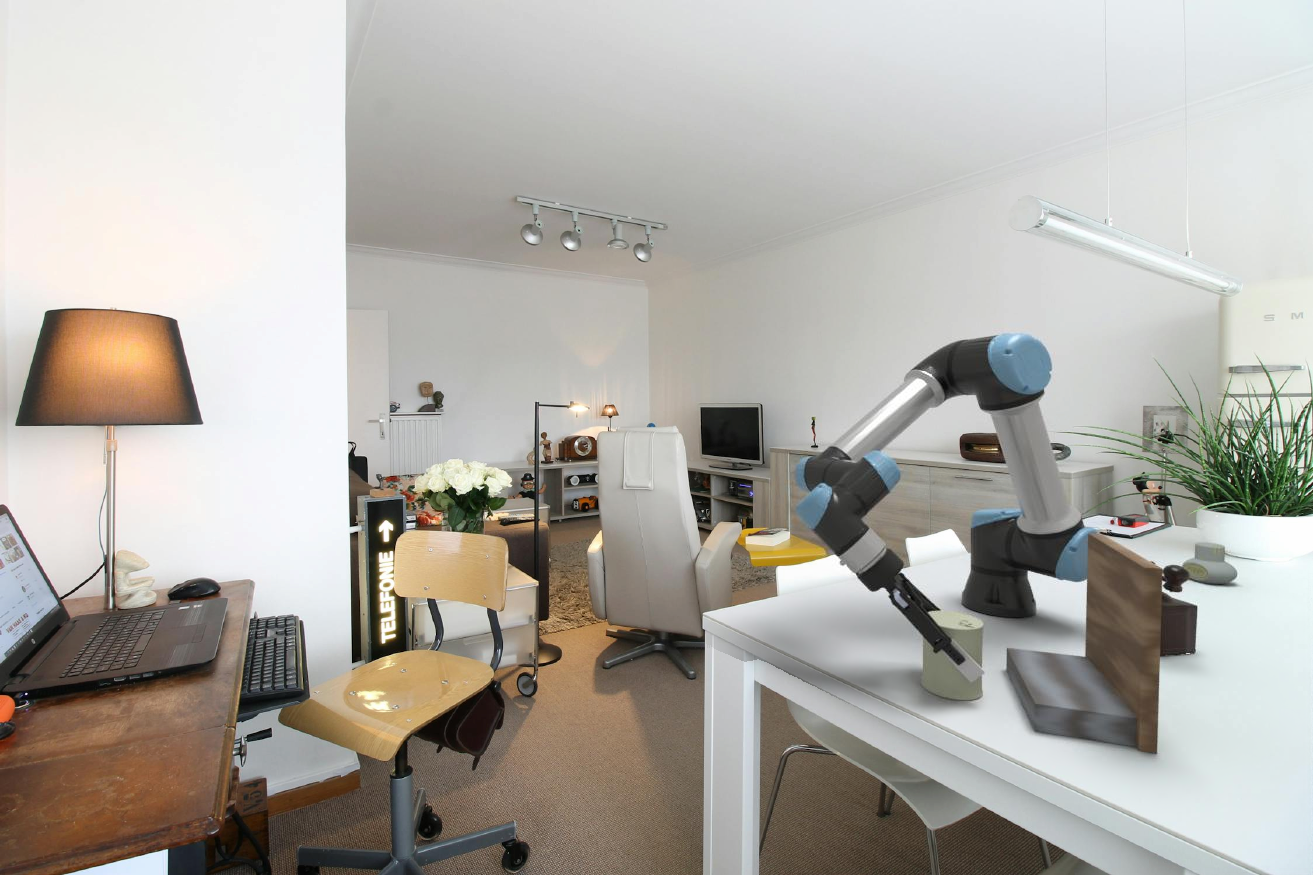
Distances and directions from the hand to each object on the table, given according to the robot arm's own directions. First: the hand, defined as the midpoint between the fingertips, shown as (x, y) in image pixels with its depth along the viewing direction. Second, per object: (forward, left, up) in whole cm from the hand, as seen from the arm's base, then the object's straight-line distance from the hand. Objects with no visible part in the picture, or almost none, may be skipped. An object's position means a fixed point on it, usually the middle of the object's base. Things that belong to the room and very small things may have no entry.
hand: (973, 664), depth 100 cm
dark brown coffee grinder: (-46, -9, -5) cm, 47 cm away
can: (+3, -2, -4) cm, 6 cm away
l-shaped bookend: (-12, +7, -4) cm, 14 cm away
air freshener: (-104, -46, -5) cm, 114 cm away
